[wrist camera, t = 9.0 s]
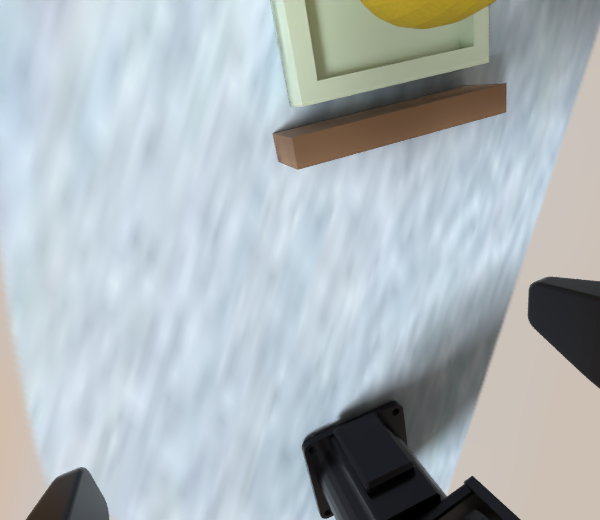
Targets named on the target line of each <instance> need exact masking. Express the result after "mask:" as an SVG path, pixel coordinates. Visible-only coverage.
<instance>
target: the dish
mask: <svg viewBox="0 0 600 520" xmlns="http://www.w3.org/2000/svg"><path fill="white" fill-rule="evenodd" d="M270 3H271V8H272V14H273V19H274V24H275V29H276V35H277V40H278V45H279V50H280V56H281V61H282V66H283V71H284V77H285V82H286V87H287V92H288V98H289V103H290V106H291V107H304V106H308V105H312V104H317V103H321V102H325V101H329V100H333V99H338V98H342V97H346V96H350V95H355V94H359V93H363V92H367V91H371V90H376V89H380V88H384V87H388V86H393V85H397V84H401V83H405V82H409V81H414V80H418V79H422V78H426V77H431V76H435V75H439V74H443V73H447V72H452V71H456V70H460V69H464V68H468V67H473V66H477V65H481V64H485V63H489V5H488V6H487V7H485V8H483V9H481V10H480V11H478V12H476V13H474V14H473V15H471V16H469V17H467V18H465V19H463V20H461V21H459V22H456V23H453V24H448V25H444V26H439V27H434V28H429V29H414V28H405V27H398V26H395V25H392V24H390V23H388V22H386V21H384V20H382V19H379V18H378V17H376V16H375V15H374V14H373V13H372V12H371V11H370V10H368V9H367V8H366V7H365V6H364V5H363V4H362V2H361V1H360V0H270Z"/></svg>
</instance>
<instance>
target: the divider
mask: <svg viewBox="0 0 600 520" xmlns="http://www.w3.org/2000/svg"><path fill="white" fill-rule="evenodd" d="M505 112H506V83H503V84H483V85H466V86H462V87H458V88H454V89H450V90H446V91H442V92H438V93H434V94H430V95H426V96H422V97H418V98H414V99H410V100H406V101H402V102H398V103H394V104H390V105H386V106H381V107H377V108H373V109H369V110H365V111H361V112H357V113H353V114H349V115H345V116H341V117H337V118H333V119H329V120H325V121H321V122H317V123H313V124H309V125H305V126H301V127H297V128H293V129H289V130H285V131H281V132H277V133H273V138H274V142H275V147H276V152H277V157H278V161H279V162H281V163H283V164H286V165H288V166H290V167H293V168H295V169H302V168H306V167H309V166H313V165H316V164H320V163H324V162H327V161H331V160H335V159H338V158H342V157H345V156H349V155H353V154H356V153H360V152H364V151H367V150H371V149H374V148H378V147H382V146H385V145H389V144H393V143H396V142H400V141H403V140H407V139H411V138H414V137H418V136H422V135H425V134H429V133H432V132H436V131H440V130H443V129H447V128H451V127H454V126H458V125H461V124H465V123H469V122H472V121H476V120H480V119H483V118H487V117H490V116H494V115H498V114H501V113H505Z"/></svg>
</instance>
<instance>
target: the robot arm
mask: <svg viewBox="0 0 600 520" xmlns="http://www.w3.org/2000/svg"><path fill="white" fill-rule="evenodd" d="M528 319H529V321H530V324H531V325H532V326H533V327H534V329H536V330H537V331H538V332H539V333H540V334H541V335H542V336H543V337H544V338H545V339H546V340H547V341H548V342H549V343H550V344H551V345H553V346H554V347H555V348H556V349H557V350H558V351H559V352H560V353H561V354H562V355H563V356H564V357H565V358H566V359H567V360H568V361H570V363H572V364H573V365H574V366H575V367H576V368H577V369H578V370H579V371H580V372H581V373H582V374H583V375H584V376H586V377H587V378H588V379H589V380H590V381H591V382H593V383H594V384H595V385H596V386H597V387H599V388H600V281H590V280H580V279H570V278H559V277H546V278H543V279H541V280H538V281H536V282H534V283H532V284H531V285H530V287H529V298H528ZM394 409H395V410H394ZM311 447H312V448H311ZM302 451H303V454H304V458H305V462H306V466H307V470H308V473H309V477H310V481H311V485H312V488H313V492H314V496H315V500H316V504H317V507H318V511H319V513H320V515H321V517H322V518H324V519H327V518H329V517H331V516H333V515H334V516H335V519H336V520H520V519H519V518H518V517H517V516H516V515H515V514H514V513H513V512H512V511H510V510H509V509H508V508H507V507H506V506H505V505H504V504H503V503H502V502H500V501H499V500H498V499H497V498H496V497H495V496H494V495H493V494H492V493H491V492H490V491H489V490H487V489H486V488H485V487H484V486H483V485H482V484H481V483H480V482H479V481H478V480H476V479H475V478H474V477H473V476H471V477H470V478H469V479H467V480H466V481H464V485H462V486H461V487H460V488H458V489H457V490H456V491H454V492H453V493H451V494H450V495H449V496H446V495H445V493H444V492H443V491H442V490H441V488H440V487H439V486H438V485H437V483H436V482H435V481H434V479H433V478H432V477H431V476H430V474H429V473H428V472H427V471H426V469H425V468H424V467H423V466H422V464H421V463H420V462H419V460H418V459H417V458H416V457H415V455H414V454H413V453H412V452H411V450H410V449H409V448H408V447H407V439H406V431H405V422H404V414H403V408H402V406H401V405H400V404H399V403H398V402H397V401H392V402H389V403H387V404H385V405H383V406H380V407H378V408H376V409H374V410H372V411H369V412H367V413H365V414H363V415H360V416H358V417H356V418H354V419H351V420H349V421H347V422H345V423H342V424H340V425H338V426H336V427H334V428H331V429H329V430H327V431H325V432H322V433H320V434H318V435H316V436H313V437H311V438H309V439H307V440H306V441H305V442H304V443H303V445H302ZM26 520H109V512H108V507H107V503H106V501H105V499H104V497H103V495H102V493H101V491H100V490H99V488H98V486H97V485H96V483H95V481H94V479H93V478H92V476H91V474H90V472H89V471H88V470H87V469H86V468H83V467H80V468H77V469H75V470H72V471H70V472H67V473H65V474H62V475H60V476H58V477H57V478H56V479H55V480H54V481H53V482H52V483H51V485H50V486H49V488H48V489H47V490H46V492H45V493H44V495H43V496H42V497H41V499H40V500H39V502H38V503H37V505H36V506H35V507H34V509H33V510H32V512H31V513H30V514H29V516H28V517H27V519H26Z"/></svg>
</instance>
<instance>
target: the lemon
mask: <svg viewBox="0 0 600 520" xmlns="http://www.w3.org/2000/svg"><path fill="white" fill-rule="evenodd" d="M360 1H361V2H362V4H363V5H364V6H365V7H366V8H367V9H368V10H370V11H371V12H372V13H373V14H374V15H375V16H376V17H378V18H379V19H382V20H384V21H386V22H388V23H390V24H392V25H395V26H398V27H405V28H414V29H429V28H434V27H439V26H444V25H448V24H453V23H456V22H459V21H461V20H463V19H465V18H467V17H469V16H471V15H473V14H474V13H476V12H478V11H480V10H481V9H483V8H485V7H487V6H488V5H490V4H492V3H493V2H495V1H496V0H360Z"/></svg>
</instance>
